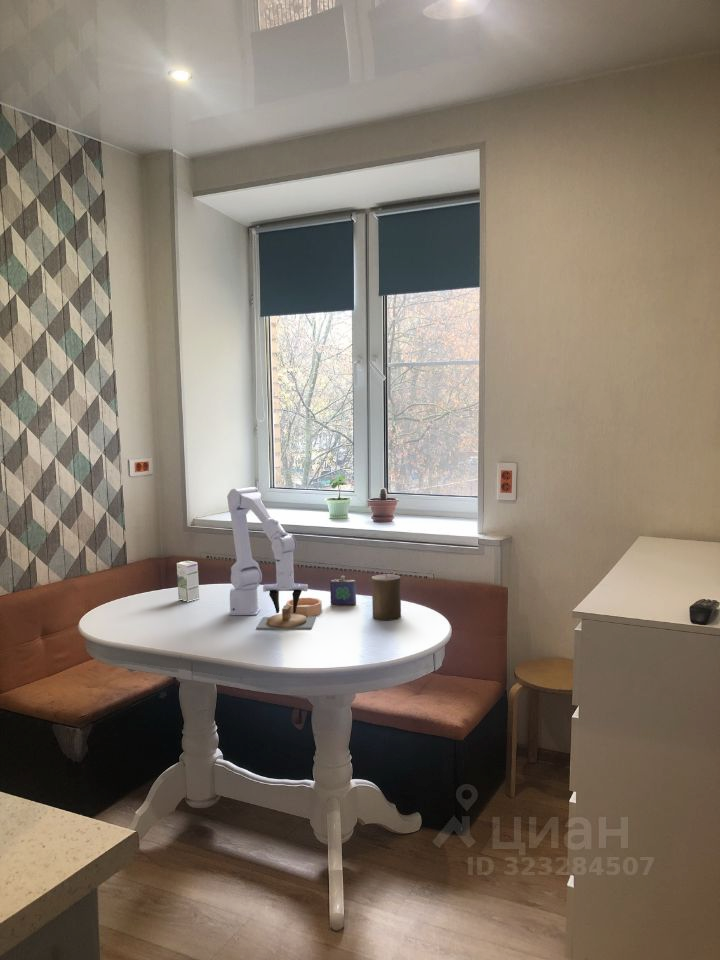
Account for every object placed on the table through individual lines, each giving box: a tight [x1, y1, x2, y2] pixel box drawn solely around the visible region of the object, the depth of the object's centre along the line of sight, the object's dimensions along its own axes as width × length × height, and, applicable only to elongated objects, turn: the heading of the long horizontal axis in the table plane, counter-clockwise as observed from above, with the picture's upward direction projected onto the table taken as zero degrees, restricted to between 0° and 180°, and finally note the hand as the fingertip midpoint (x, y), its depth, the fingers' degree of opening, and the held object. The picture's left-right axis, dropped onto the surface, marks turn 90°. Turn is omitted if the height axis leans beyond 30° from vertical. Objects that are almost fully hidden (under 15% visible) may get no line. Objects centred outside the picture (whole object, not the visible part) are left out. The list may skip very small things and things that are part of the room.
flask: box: [329, 575, 357, 607], centre depth 262 cm, size 9×3×11 cm, turn 87°
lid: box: [267, 604, 306, 628], centre depth 241 cm, size 13×13×5 cm
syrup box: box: [176, 560, 200, 601], centre depth 274 cm, size 6×6×14 cm
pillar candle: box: [371, 573, 402, 621], centre depth 246 cm, size 10×10×15 cm
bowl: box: [285, 597, 323, 617], centre depth 255 cm, size 12×12×4 cm
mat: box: [255, 616, 317, 630], centre depth 241 cm, size 18×12×1 cm, turn 87°
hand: (286, 612), depth 241 cm, fingers open, 5 cm apart
